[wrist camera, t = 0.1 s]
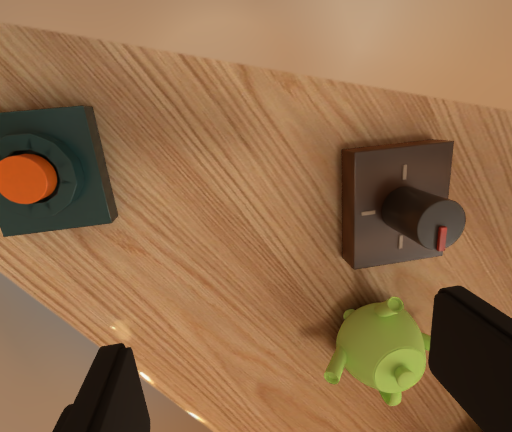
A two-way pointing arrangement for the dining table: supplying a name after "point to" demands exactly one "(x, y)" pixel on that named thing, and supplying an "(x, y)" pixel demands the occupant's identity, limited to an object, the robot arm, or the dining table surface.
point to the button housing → (58, 170)
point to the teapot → (380, 349)
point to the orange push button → (26, 178)
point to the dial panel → (377, 190)
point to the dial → (424, 217)
